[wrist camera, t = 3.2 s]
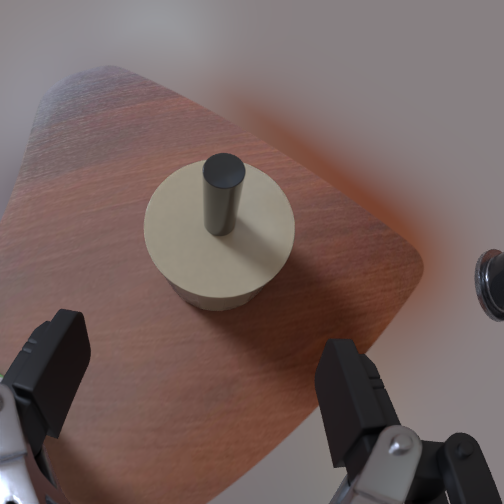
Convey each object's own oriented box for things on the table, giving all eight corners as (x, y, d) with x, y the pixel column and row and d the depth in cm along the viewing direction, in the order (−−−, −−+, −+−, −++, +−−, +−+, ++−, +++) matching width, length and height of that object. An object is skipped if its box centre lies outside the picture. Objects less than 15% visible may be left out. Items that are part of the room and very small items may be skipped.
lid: (292, 175, 30) (319, 113, 21) (289, 307, 25) (326, 280, 17) (161, 160, 28) (149, 94, 20) (134, 291, 24) (100, 257, 16)
